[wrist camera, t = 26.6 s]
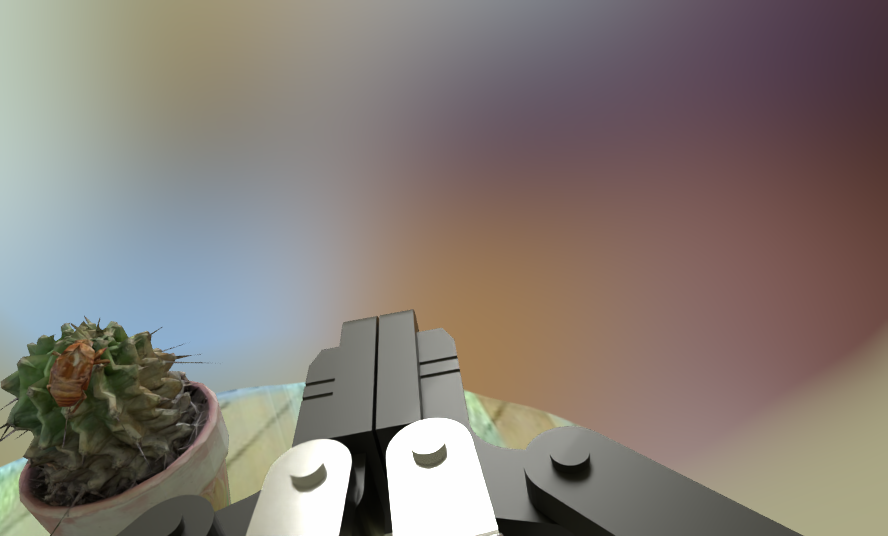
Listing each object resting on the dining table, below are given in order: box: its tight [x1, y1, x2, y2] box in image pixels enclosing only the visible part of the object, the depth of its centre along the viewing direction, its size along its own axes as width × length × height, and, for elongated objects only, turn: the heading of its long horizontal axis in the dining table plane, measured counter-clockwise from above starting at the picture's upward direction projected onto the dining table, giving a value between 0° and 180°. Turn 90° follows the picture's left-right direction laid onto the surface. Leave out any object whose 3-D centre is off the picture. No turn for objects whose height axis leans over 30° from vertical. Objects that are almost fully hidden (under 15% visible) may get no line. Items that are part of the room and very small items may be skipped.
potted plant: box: [0, 317, 231, 536], centre depth 50 cm, size 18×20×25 cm
